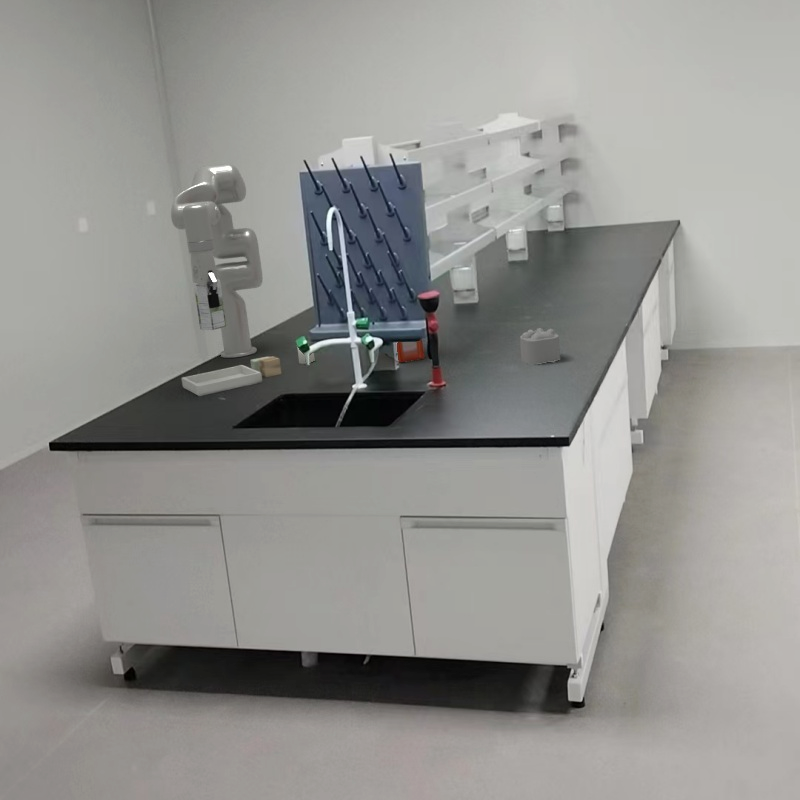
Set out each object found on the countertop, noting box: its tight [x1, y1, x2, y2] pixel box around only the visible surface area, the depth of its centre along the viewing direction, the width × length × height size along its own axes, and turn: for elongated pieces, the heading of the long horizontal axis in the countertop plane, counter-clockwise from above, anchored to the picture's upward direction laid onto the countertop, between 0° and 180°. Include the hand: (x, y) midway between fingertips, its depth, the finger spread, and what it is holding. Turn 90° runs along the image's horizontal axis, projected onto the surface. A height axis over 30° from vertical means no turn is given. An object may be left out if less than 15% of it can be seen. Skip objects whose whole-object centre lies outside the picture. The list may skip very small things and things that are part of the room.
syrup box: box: [193, 280, 226, 331], centre depth 308 cm, size 6×6×14 cm
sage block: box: [250, 356, 269, 372], centre depth 327 cm, size 4×6×4 cm, turn 114°
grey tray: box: [181, 364, 263, 397], centre depth 314 cm, size 16×20×3 cm
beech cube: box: [258, 355, 282, 378], centre depth 321 cm, size 5×5×5 cm
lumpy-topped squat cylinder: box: [519, 327, 561, 364], centre depth 302 cm, size 10×13×9 cm
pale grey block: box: [296, 346, 316, 365], centre depth 333 cm, size 5×5×6 cm
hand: (210, 305), depth 308 cm, fingers closed on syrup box, 7 cm apart
